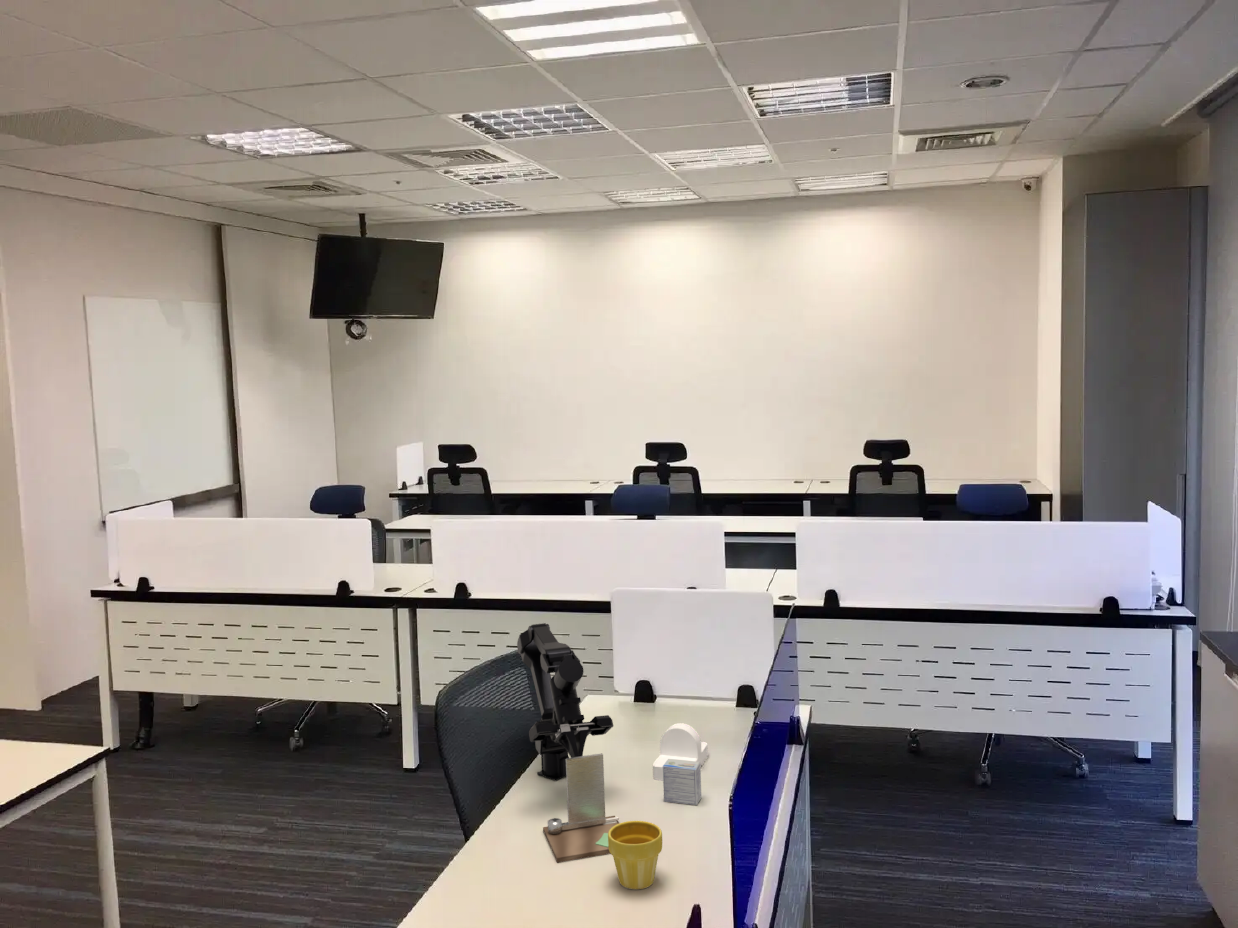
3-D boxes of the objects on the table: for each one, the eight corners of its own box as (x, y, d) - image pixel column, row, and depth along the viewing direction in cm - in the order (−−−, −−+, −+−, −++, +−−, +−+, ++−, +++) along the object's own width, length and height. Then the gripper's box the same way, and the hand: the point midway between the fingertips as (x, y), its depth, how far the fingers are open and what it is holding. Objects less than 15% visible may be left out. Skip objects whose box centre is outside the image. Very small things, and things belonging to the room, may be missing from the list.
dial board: (557, 862, 191) (557, 856, 191) (543, 831, 205) (542, 826, 205) (633, 849, 196) (633, 843, 196) (614, 819, 209) (614, 814, 209)
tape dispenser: (651, 780, 230) (650, 737, 229) (672, 752, 247) (671, 711, 246) (690, 784, 227) (689, 740, 226) (708, 756, 244) (707, 714, 243)
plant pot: (626, 862, 191) (625, 815, 190) (672, 874, 186) (671, 826, 185) (599, 886, 182) (597, 837, 181) (647, 900, 177) (645, 849, 176)
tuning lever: (549, 834, 201) (546, 764, 199) (546, 828, 203) (543, 759, 202) (620, 823, 205) (618, 754, 204) (616, 817, 208) (614, 749, 206)
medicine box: (701, 797, 219) (701, 761, 218) (697, 806, 215) (696, 769, 214) (668, 794, 222) (667, 757, 221) (663, 802, 217) (662, 765, 217)
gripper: (589, 708, 231) (603, 772, 223) (516, 714, 223) (528, 781, 214) (606, 690, 222) (621, 756, 214) (531, 696, 214) (543, 765, 206)
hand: (578, 765), depth 213 cm, fingers closed
